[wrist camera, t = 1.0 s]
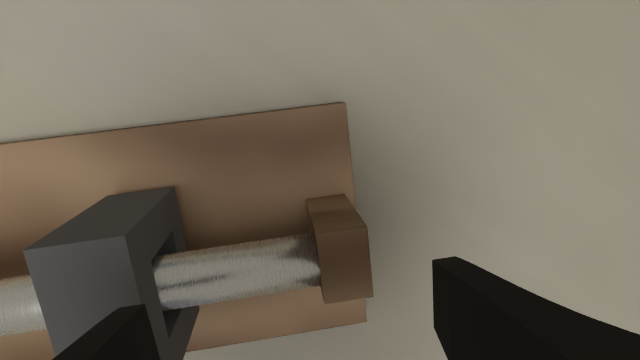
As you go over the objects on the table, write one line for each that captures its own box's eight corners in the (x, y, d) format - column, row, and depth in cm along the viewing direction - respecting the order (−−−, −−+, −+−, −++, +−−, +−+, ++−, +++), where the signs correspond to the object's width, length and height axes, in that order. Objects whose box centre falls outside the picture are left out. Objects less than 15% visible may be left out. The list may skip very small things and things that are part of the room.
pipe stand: (362, 310, 23) (394, 391, 17) (-139, 392, 21) (-312, 521, 15) (341, 102, 21) (371, 108, 14) (-239, 172, 18) (-505, 216, 12)
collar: (199, 309, 20) (166, 408, 14) (138, 319, 20) (76, 424, 14) (174, 186, 19) (124, 236, 12) (107, 195, 18) (22, 250, 12)
